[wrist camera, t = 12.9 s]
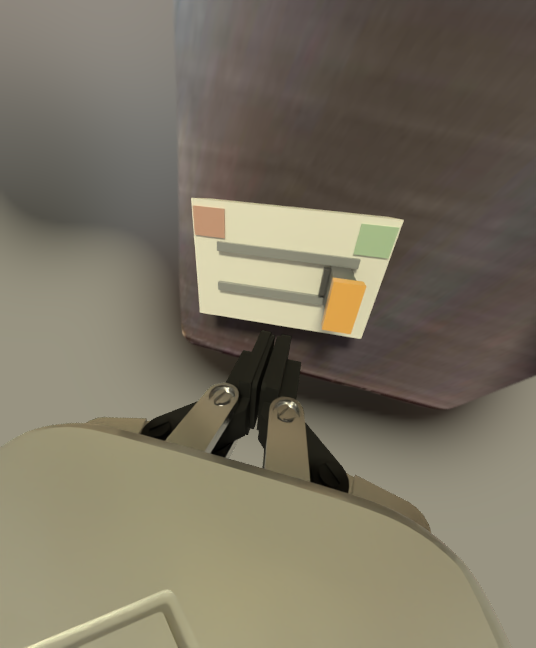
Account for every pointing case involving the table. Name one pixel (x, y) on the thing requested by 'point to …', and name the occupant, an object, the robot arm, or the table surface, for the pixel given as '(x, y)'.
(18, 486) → the robot arm
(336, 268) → the handle
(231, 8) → the table surface
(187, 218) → the table surface
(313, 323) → the switch box
